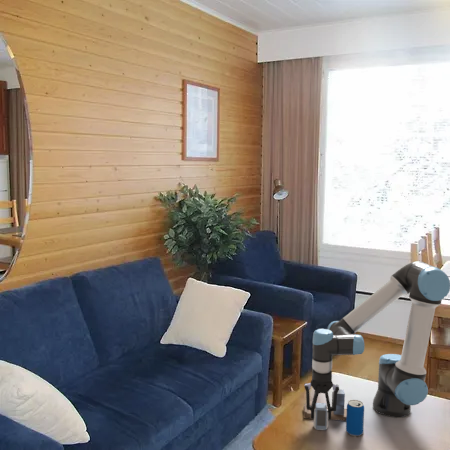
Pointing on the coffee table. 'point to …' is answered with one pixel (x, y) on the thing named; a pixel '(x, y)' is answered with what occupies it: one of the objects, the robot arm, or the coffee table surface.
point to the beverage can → (355, 417)
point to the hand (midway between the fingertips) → (320, 426)
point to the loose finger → (321, 416)
